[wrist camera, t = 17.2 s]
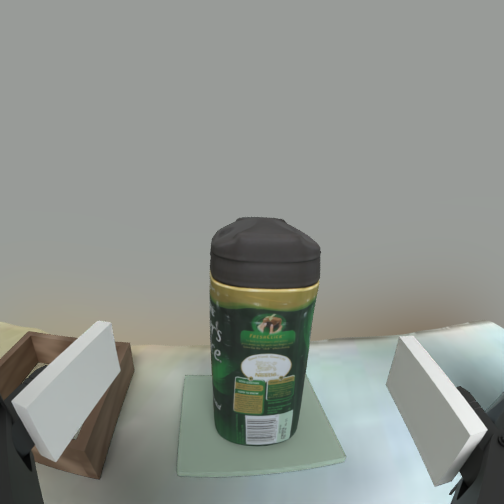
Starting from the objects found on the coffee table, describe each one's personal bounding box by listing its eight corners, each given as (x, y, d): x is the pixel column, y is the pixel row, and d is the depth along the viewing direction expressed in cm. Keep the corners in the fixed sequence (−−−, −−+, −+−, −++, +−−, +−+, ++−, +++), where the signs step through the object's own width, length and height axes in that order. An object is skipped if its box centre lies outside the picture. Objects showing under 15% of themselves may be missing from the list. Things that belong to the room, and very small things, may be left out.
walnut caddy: (134, 370, 32) (129, 342, 32) (99, 479, 16) (84, 451, 15) (35, 357, 31) (28, 331, 30) (-25, 435, 14) (-43, 405, 13)
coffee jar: (215, 385, 30) (215, 211, 26) (287, 385, 31) (304, 214, 27) (209, 451, 21) (202, 226, 17) (302, 449, 21) (339, 231, 17)
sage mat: (303, 376, 34) (304, 371, 34) (344, 462, 20) (346, 456, 20) (185, 380, 32) (185, 375, 32) (177, 476, 18) (176, 471, 18)
